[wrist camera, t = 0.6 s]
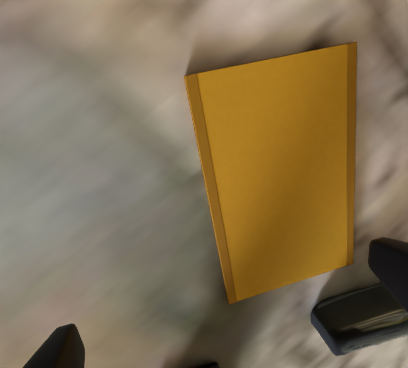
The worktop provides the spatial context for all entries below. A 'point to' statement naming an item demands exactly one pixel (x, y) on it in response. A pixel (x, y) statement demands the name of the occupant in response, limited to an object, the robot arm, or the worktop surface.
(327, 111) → the yellow flat slab
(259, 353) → the worktop surface
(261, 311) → the worktop surface
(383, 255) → the robot arm
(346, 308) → the mobile phone
